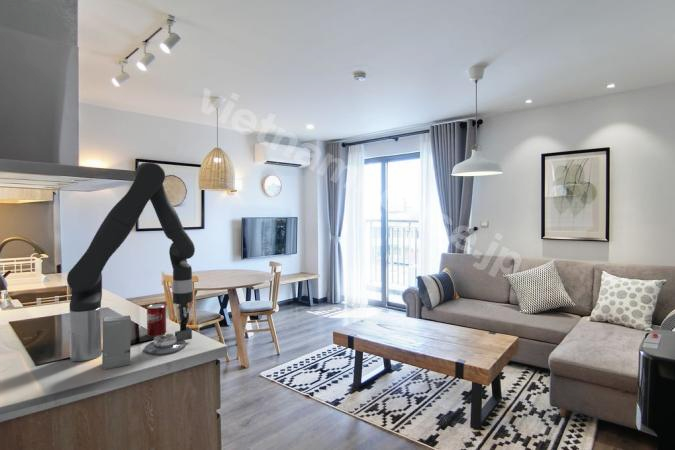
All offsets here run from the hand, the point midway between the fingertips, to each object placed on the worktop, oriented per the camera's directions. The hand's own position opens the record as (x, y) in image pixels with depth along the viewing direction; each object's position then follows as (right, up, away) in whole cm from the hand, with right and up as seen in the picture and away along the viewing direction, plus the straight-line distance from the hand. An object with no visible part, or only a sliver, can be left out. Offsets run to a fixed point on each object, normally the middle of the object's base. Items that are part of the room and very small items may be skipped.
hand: (183, 332), depth 152 cm
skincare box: (-12, -4, -24) cm, 28 cm away
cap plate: (-3, -3, -10) cm, 10 cm away
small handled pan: (-1, -2, -8) cm, 8 cm away
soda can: (-14, -3, +6) cm, 15 cm away
